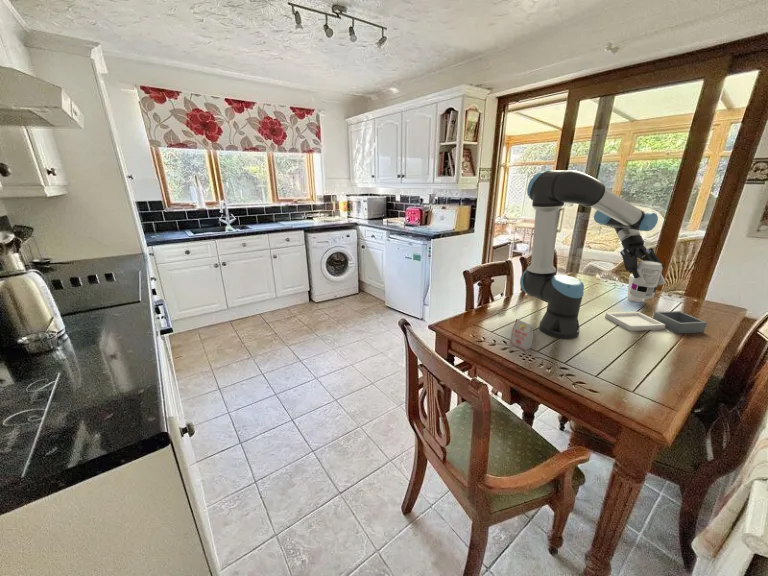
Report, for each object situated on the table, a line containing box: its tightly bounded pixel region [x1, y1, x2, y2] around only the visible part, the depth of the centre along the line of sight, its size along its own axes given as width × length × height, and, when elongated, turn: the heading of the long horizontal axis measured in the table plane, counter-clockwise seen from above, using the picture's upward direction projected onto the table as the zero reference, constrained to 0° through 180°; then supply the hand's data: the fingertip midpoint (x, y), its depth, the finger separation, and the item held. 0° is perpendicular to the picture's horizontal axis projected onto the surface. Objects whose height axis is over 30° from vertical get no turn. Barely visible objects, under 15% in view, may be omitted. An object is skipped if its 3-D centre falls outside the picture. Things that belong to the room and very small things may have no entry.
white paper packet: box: [509, 318, 534, 351], centre depth 121 cm, size 4×7×10 cm, turn 30°
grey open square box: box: [652, 310, 708, 334], centre depth 136 cm, size 12×12×4 cm
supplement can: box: [630, 260, 664, 300], centre depth 134 cm, size 8×8×15 cm
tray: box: [604, 311, 665, 332], centre depth 140 cm, size 16×14×2 cm
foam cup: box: [626, 273, 644, 303], centre depth 165 cm, size 10×9×13 cm
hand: (652, 284), depth 131 cm, fingers closed on supplement can, 8 cm apart
